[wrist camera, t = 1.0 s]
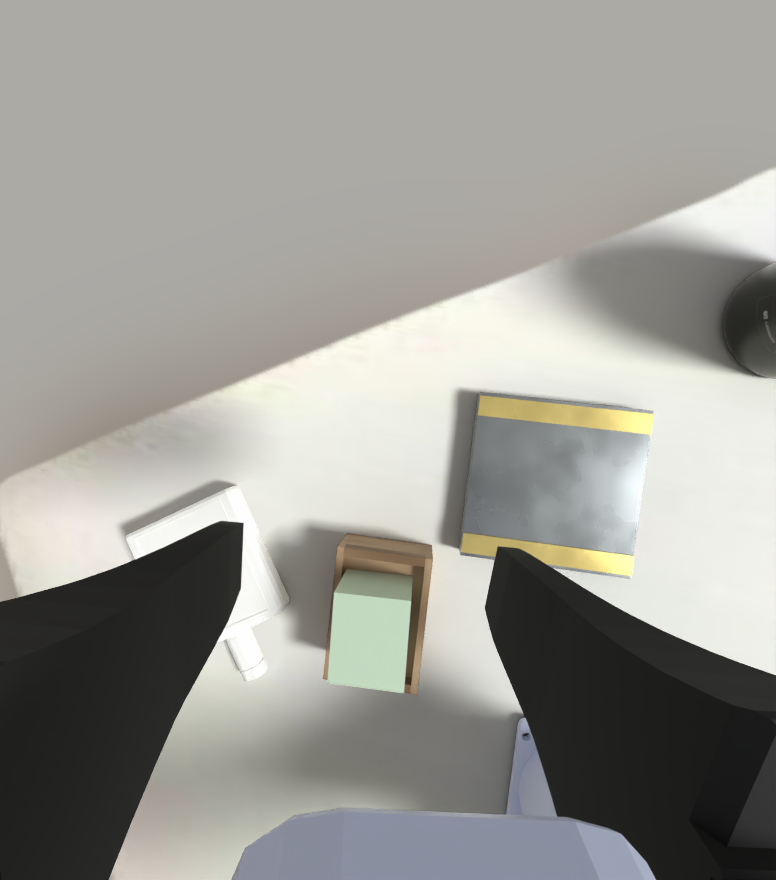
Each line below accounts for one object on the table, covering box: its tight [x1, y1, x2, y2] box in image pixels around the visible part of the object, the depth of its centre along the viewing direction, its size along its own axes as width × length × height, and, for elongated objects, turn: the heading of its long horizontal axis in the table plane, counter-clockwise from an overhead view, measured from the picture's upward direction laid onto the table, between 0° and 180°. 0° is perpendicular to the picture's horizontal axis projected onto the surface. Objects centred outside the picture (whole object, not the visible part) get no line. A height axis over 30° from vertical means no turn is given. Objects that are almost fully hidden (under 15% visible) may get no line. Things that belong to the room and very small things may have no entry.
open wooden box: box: [323, 534, 433, 695], centre depth 25 cm, size 8×6×3 cm
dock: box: [459, 392, 654, 579], centre depth 24 cm, size 10×10×1 cm
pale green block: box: [327, 569, 413, 693], centre depth 22 cm, size 5×4×4 cm
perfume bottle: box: [126, 485, 289, 682], centre depth 26 cm, size 8×2×12 cm
